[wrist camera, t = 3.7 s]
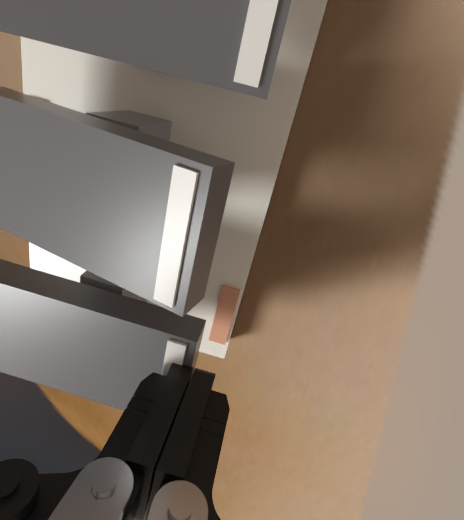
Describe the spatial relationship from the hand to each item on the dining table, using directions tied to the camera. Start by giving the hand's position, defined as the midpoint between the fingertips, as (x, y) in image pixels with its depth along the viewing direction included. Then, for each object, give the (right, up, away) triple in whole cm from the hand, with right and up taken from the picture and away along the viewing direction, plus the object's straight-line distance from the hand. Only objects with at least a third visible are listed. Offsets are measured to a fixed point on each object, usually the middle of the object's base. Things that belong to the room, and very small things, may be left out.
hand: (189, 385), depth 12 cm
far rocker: (-4, +2, +1) cm, 4 cm away
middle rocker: (-3, +6, -1) cm, 7 cm away
